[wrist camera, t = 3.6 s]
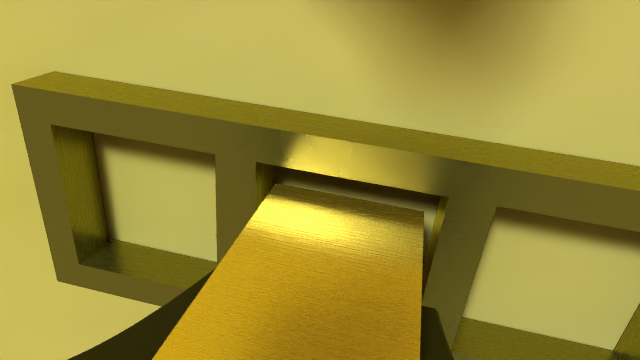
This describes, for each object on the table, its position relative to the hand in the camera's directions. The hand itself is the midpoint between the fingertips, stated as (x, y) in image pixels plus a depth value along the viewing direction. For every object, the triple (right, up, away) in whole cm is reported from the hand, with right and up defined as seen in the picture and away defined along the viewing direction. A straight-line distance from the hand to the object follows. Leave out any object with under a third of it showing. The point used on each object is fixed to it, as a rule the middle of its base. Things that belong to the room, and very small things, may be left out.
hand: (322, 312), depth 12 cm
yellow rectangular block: (+1, +1, +2) cm, 2 cm away
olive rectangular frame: (+1, +2, +4) cm, 4 cm away
